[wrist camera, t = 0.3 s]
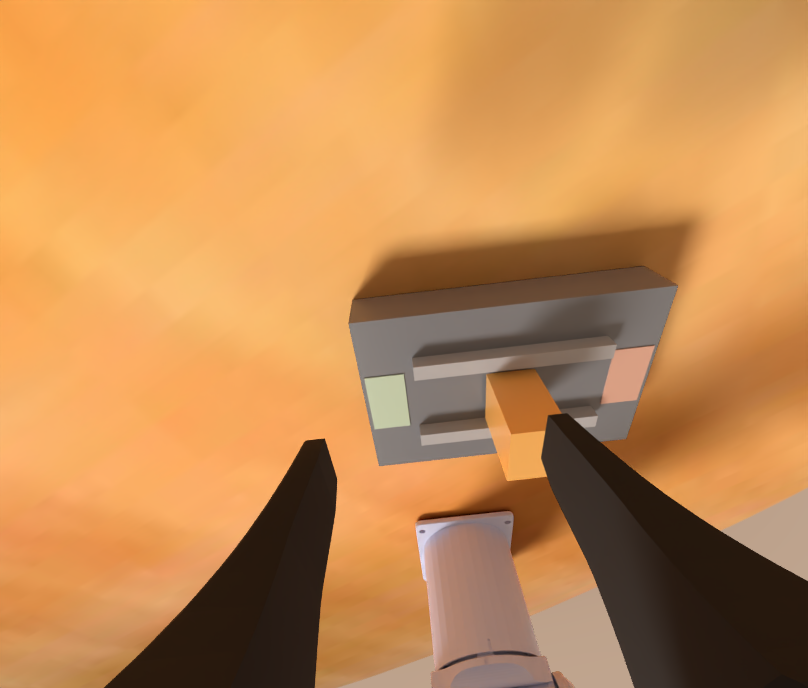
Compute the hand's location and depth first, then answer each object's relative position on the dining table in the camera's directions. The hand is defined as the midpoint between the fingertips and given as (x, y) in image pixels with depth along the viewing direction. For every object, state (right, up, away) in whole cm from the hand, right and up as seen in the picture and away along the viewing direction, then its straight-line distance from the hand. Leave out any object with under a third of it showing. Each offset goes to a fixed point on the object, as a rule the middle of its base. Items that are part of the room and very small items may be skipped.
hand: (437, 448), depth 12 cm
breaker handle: (+4, +1, +7) cm, 8 cm away
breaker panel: (+4, +2, +9) cm, 10 cm away
